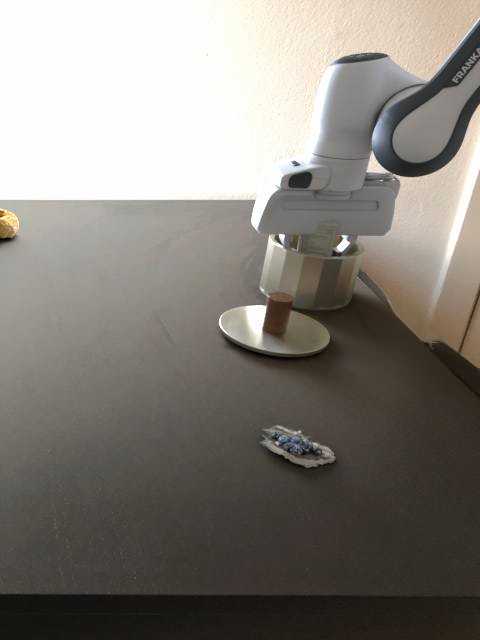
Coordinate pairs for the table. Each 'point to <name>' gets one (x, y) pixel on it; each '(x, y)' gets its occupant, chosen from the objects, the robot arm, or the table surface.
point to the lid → (274, 328)
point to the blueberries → (296, 446)
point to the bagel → (8, 224)
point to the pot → (311, 275)
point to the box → (319, 240)
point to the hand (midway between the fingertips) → (311, 260)
